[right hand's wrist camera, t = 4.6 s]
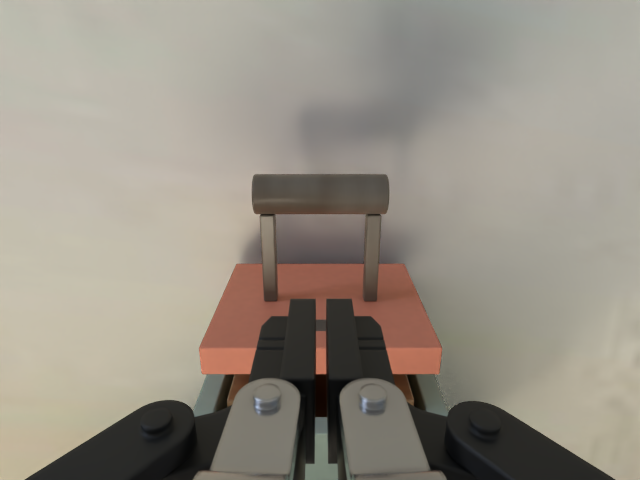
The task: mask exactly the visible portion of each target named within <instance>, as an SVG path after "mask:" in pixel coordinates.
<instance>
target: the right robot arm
mask: <svg viewBox="0 0 640 480" xmlns="http://www.w3.org/2000/svg"><path fill="white" fill-rule="evenodd" d="M326 388H327V436H328V464H337V466H338V480H615V479H613V478H612V477H610V476H609V475H607V474H605V473H604V472H602V471H601V470H599V469H597V468H596V467H594V466H593V465H591V464H589V463H588V462H586V461H585V460H583V459H581V458H580V457H578V456H576V455H575V454H573V453H572V452H570V451H568V450H567V449H565V448H564V447H562V446H560V445H559V444H557V443H556V442H554V441H552V440H551V439H549V438H548V437H546V436H544V435H543V434H541V433H540V432H538V431H536V430H535V429H533V428H532V427H530V426H528V425H527V424H525V423H524V422H522V421H520V420H519V419H517V418H515V417H514V416H512V415H511V414H509V413H507V412H506V411H504V410H502V409H501V408H499V407H496V406H494V405H491V404H488V403H484V402H477V401H468V402H462V403H459V404H457V405H455V406H454V407H453V408H451V410H450V411H449V413H448V416H443V415H439V414H435V413H431V412H427V411H424V410H421V409H419V408H416V407H414V406H413V405H411V404H409V403H408V402H407V401H406V398H405V396H404V394H403V393H402V391H401V390H400V389H399V388H398V387H396V386H395V382H394V378H393V374H392V370H391V366H390V362H389V357H388V353H387V350H386V345H385V341H384V337H383V333H382V329H381V326H380V325H379V324H378V323H377V322H376V321H375V320H374V319H373V318H372V317H371V316H354V310H353V303H352V299H326ZM315 406H316V299H290V305H289V313H288V316H271V317H270V318H269V319H268V320H267V321H266V322H265V323H264V324H263V325H262V326H261V330H260V335H259V340H258V343H257V349H256V352H255V356H254V360H253V364H252V369H251V373H250V377H249V382H248V384H246V385H245V386H244V387H242V388H241V389H240V390H239V391H238V393H237V394H236V396H235V398H234V401H233V404H232V405H231V406H229V407H227V408H225V409H222V410H220V411H217V412H213V413H209V414H205V415H201V416H197V417H194V413H193V411H192V409H191V408H190V407H189V406H188V405H186V404H185V403H182V402H179V401H174V400H164V401H158V402H153V403H150V404H148V405H145V406H143V407H141V408H139V409H137V410H136V411H134V412H133V413H131V414H129V415H128V416H126V417H125V418H123V419H121V420H120V421H118V422H117V423H115V424H113V425H112V426H110V427H108V428H107V429H105V430H104V431H102V432H100V433H99V434H97V435H96V436H94V437H92V438H91V439H89V440H88V441H86V442H84V443H83V444H81V445H80V446H78V447H76V448H75V449H73V450H72V451H70V452H68V453H67V454H65V455H64V456H62V457H60V458H59V459H57V460H55V461H54V462H52V463H51V464H49V465H47V466H46V467H44V468H43V469H41V470H39V471H38V472H36V473H35V474H33V475H31V476H30V477H28V478H27V479H25V480H305V465H306V464H315Z"/></svg>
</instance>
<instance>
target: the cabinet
mask: <svg viewBox="0 0 640 480" xmlns="http://www.w3.org/2000/svg"><path fill="white" fill-rule="evenodd" d="M233 377H234V374H207V376H206V379H205V381H204V384H203V387H202V389H201V392H200V395H199V397H198V400H197V402H196V405H195V408H194V410H193V413H194V417H197V416H201V415H205V414H209V413H213V412H217V411H220V410H222V409H225V408H227V398H228V395H229V391H230V388H231V384H232V381H233ZM407 377H408V381H409V384H410V388H411V391H412V395H413V398H414V407H416V408H419V409H421V410H424V411H427V412H431V413H435V414H439V415H443V416H448V410H447V407H446V405H445V402H444V400H443V397H442V394H441V392H440V389H439V387H438V384H437V381H436V379H435V376H434V374H407ZM305 480H338V466H337V464H328V436H327V417H315V464H306V465H305Z"/></svg>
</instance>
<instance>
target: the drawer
mask: <svg viewBox="0 0 640 480" xmlns="http://www.w3.org/2000/svg"><path fill="white" fill-rule="evenodd" d="M252 205H253V210H254V213H255V214H261V215H260V231H261V251H262V264H236V266H235V269H234V271H233V273H232V275H231V278H230V280H229V282H228V284H227V286H226V289H225V291H224V293H223V295H222V298H221V300H220V302H219V304H218V307H217V309H216V311H215V313H214V316H213V318H212V320H211V322H210V325H209V327H208V329H207V331H206V334H205V336H204V338H203V340H202V343H201V345H200V347H199V353H200V362H201V370H202V374H234V377H233V381H232V384H231V388H230V391H229V395H228V398H227V407H229V406H231V405H232V404H233V401H234V398H235V396H236V394H237V393H238V391H239V390H240V389H241V388H242V387H244V386H245V385H246V384H248V382H249V377H250V373H251V369H252V364H253V360H254V356H255V352H256V349H257V343H258V340H259V335H260V330H261V326H262V325H263V324H264V323H265V322H266V321H267V320H268V319H269V318H270V317H271V316H288V313H289V305H290V299H316V406H315V417H327V388H326V299H352V303H353V310H354V316H371V317H372V318H373V319H374V320H375V321H376V322H377V323H378V324H379V325H380V326H381V329H382V333H383V337H384V341H385V345H386V350H387V353H388V357H389V362H390V366H391V370H392V374H393V378H394V382H395V386H396V387H398V388H399V389H400V390H401V391H402V393H403V394H404V396H405V398H406V401H407V402H408V403H409V404H411V405H413V406H414V398H413V395H412V391H411V388H410V384H409V381H408V377H407V374H439V372H440V363H441V354H442V347H441V344H440V342H439V340H438V338H437V335H436V333H435V331H434V329H433V327H432V324H431V322H430V320H429V318H428V316H427V313H426V311H425V309H424V307H423V304H422V302H421V300H420V298H419V296H418V293H417V291H416V289H415V287H414V285H413V282H412V280H411V278H410V276H409V273H408V271H407V269H406V267H405V265H404V264H379V251H380V231H381V215H380V214H386V213H387V210H388V205H389V181H388V177H387V175H386V174H256V175H254V177H253V181H252ZM275 214H366V216H365V242H364V264H277V244H276V216H275Z"/></svg>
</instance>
